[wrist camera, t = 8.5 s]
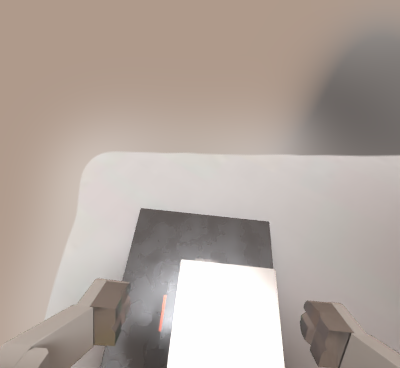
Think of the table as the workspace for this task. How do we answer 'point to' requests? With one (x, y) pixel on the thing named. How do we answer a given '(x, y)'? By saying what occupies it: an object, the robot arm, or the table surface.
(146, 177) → the table surface
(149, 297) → the metal stepped base
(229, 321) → the column
